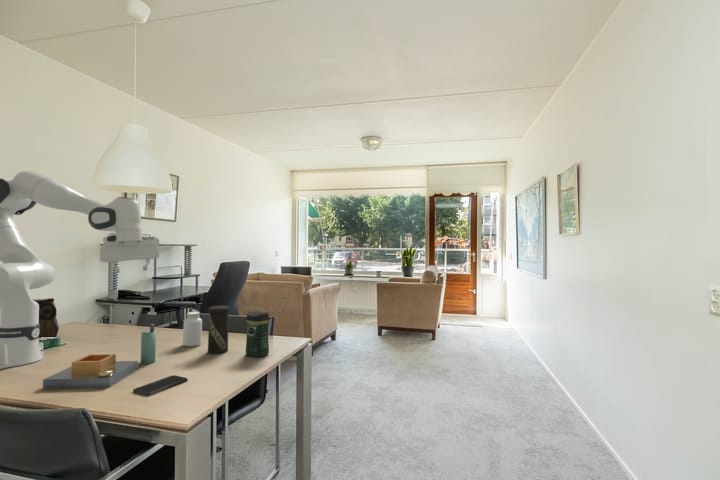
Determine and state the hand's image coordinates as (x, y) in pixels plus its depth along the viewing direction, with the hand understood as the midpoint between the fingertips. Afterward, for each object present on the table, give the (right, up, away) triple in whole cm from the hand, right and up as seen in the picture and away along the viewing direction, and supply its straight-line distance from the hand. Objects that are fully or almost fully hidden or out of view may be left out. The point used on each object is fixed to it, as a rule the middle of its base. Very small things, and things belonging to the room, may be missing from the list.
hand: (131, 271), depth 145 cm
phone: (+26, -36, -26) cm, 52 cm away
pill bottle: (+13, -37, +25) cm, 46 cm away
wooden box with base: (0, -35, -20) cm, 41 cm away
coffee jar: (+48, -37, +10) cm, 61 cm away
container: (+29, -37, +14) cm, 49 cm away
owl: (-64, -36, +34) cm, 81 cm away
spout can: (+8, -36, -2) cm, 37 cm away
